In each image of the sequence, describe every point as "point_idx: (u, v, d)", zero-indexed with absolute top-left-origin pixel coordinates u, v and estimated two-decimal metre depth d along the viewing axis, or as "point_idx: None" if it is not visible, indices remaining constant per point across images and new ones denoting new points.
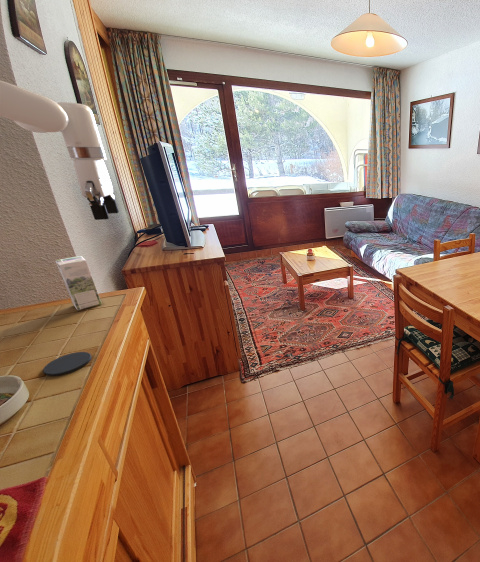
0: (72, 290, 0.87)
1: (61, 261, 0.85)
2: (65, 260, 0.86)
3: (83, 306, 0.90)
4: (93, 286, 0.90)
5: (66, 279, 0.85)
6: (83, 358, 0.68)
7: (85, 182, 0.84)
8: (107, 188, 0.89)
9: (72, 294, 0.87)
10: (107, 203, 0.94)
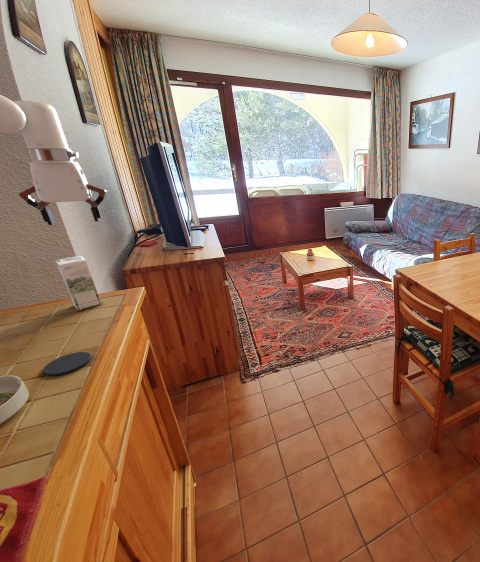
0: (72, 290, 0.87)
1: (61, 261, 0.85)
2: (65, 260, 0.86)
3: (83, 306, 0.90)
4: (93, 286, 0.90)
5: (66, 279, 0.85)
6: (83, 358, 0.68)
7: None
8: (58, 194, 0.81)
9: (72, 294, 0.87)
10: None
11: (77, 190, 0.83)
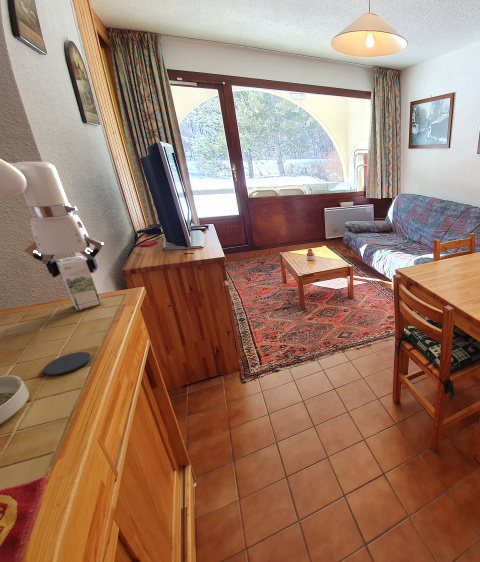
0: (72, 290, 0.87)
1: (61, 261, 0.85)
2: (65, 260, 0.86)
3: (83, 306, 0.90)
4: (93, 286, 0.90)
5: (66, 279, 0.85)
6: (83, 358, 0.68)
7: None
8: (57, 247, 0.83)
9: (72, 294, 0.87)
10: None
11: (75, 243, 0.84)
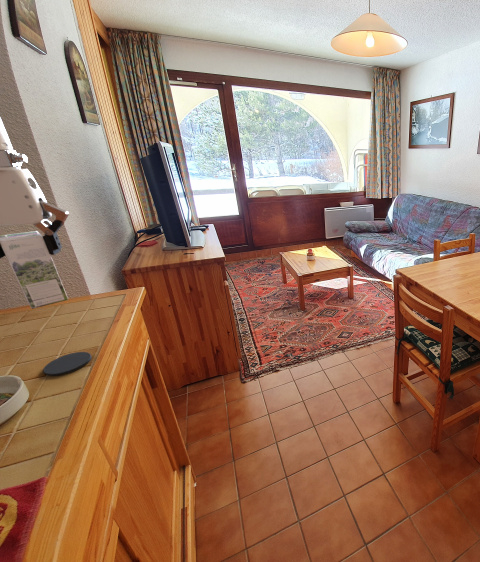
0: (23, 279, 0.60)
1: (5, 237, 0.58)
2: (11, 236, 0.59)
3: (40, 302, 0.63)
4: (55, 274, 0.63)
5: (12, 263, 0.58)
6: (83, 358, 0.68)
7: None
8: None
9: (22, 285, 0.60)
10: None
11: (24, 209, 0.58)
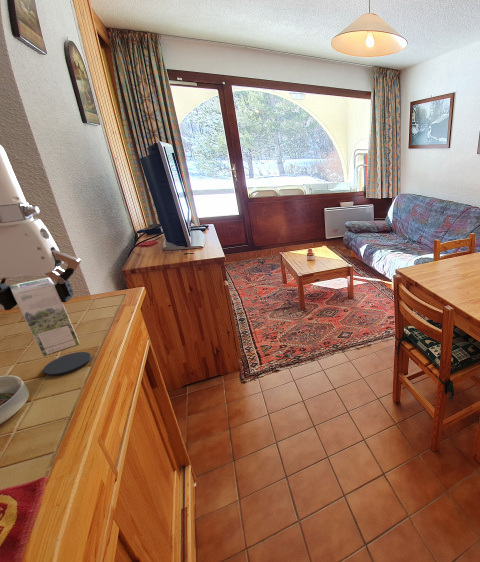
0: (35, 329, 0.60)
1: (17, 287, 0.58)
2: (23, 285, 0.59)
3: (52, 350, 0.63)
4: (66, 321, 0.63)
5: (24, 313, 0.58)
6: (83, 358, 0.68)
7: None
8: (9, 267, 0.56)
9: (35, 334, 0.60)
10: None
11: (36, 261, 0.57)
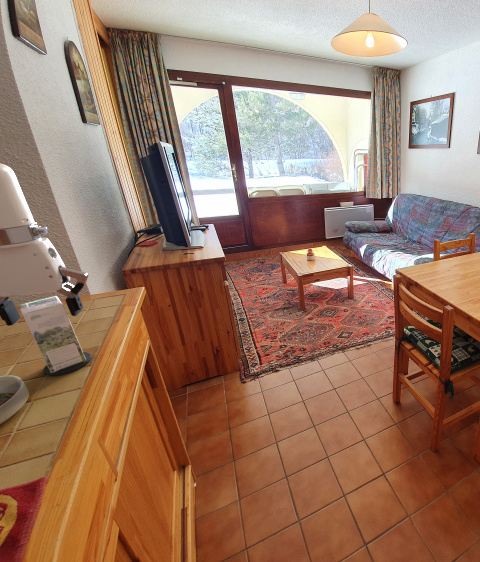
0: (43, 347, 0.61)
1: (26, 307, 0.60)
2: (32, 305, 0.61)
3: (59, 366, 0.64)
4: (73, 338, 0.65)
5: (33, 332, 0.60)
6: None
7: None
8: (18, 286, 0.57)
9: (43, 352, 0.62)
10: None
11: (44, 279, 0.59)
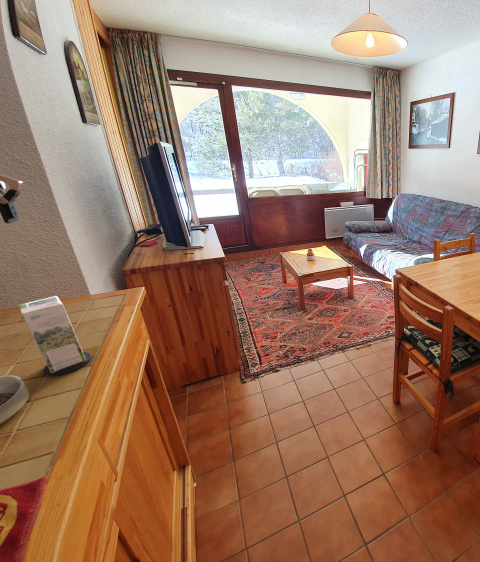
0: (43, 347, 0.61)
1: (26, 307, 0.60)
2: (32, 305, 0.61)
3: (59, 366, 0.64)
4: (73, 338, 0.65)
5: (33, 332, 0.60)
6: None
7: None
8: None
9: (43, 352, 0.62)
10: None
11: None
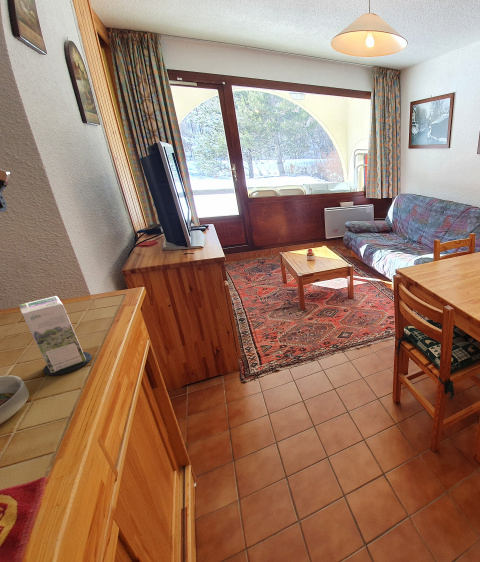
0: (43, 347, 0.61)
1: (26, 307, 0.60)
2: (32, 305, 0.61)
3: (59, 366, 0.64)
4: (73, 338, 0.65)
5: (33, 332, 0.60)
6: None
7: None
8: None
9: (43, 352, 0.62)
10: None
11: None
